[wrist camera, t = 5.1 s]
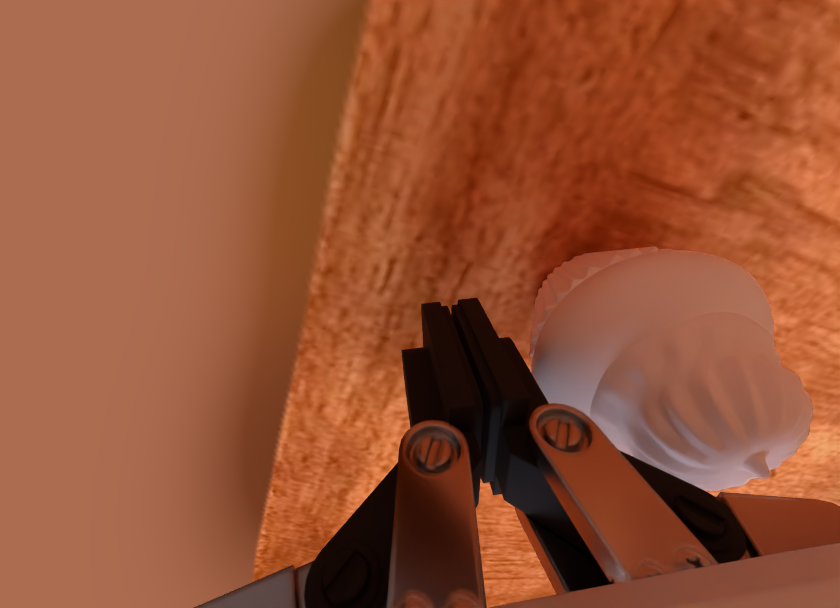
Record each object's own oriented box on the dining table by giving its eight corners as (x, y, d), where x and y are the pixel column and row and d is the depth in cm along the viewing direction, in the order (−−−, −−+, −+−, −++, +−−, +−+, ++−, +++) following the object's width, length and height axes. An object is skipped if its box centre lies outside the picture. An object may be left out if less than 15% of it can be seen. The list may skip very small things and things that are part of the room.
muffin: (668, 316, 14) (899, 490, 8) (524, 381, 14) (633, 582, 9) (652, 171, 10) (1026, 278, 5) (468, 265, 11) (580, 459, 5)
